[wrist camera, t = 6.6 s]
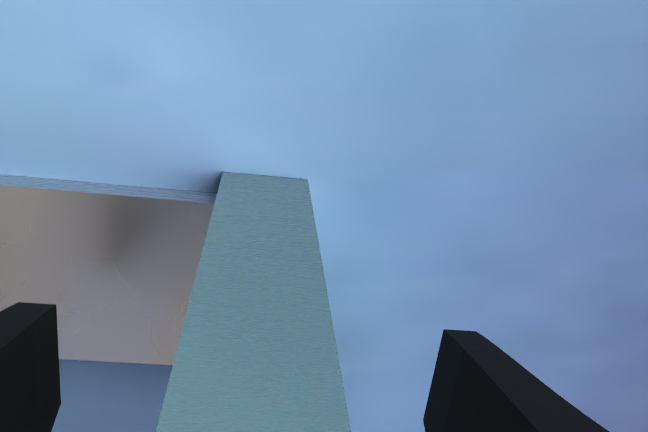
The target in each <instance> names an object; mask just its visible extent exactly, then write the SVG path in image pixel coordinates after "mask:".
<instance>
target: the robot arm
mask: <svg viewBox="0 0 648 432" xmlns="http://www.w3.org/2000/svg"><path fill="white" fill-rule="evenodd" d="M60 404H61V398H60V375H59V353H58V331H57V308H56V304H40V303H25V302H18V303H16V304H14V305H12V306H10V307H8V308H6V309H4V310H2V311H0V432H51V430H52V427H53V424H54V421H55V418H56V416H57V413H58V410H59V407H60ZM423 421H424V427H425V432H609V431H607V430H606V429H605V428H603V427H602V426H600V425H599V424H597V423H596V422H595V421H593V420H592V419H590V418H589V417H587V416H586V415H585V414H583V413H582V412H581V411H579V410H578V409H577V408H575V407H574V406H573V405H571V404H570V403H568V402H567V401H566V400H565V399H563V398H562V397H561V396H559V395H558V394H557V393H555V392H554V391H553V390H552V389H550V388H549V387H548V386H546V385H545V384H544V383H543V382H541V381H540V380H539V379H537V378H536V377H535V376H534V375H532V374H531V373H530V372H529V371H527V370H526V369H525V368H524V367H522V366H521V365H520V364H519V363H517V362H516V361H515V360H514V359H512V358H511V357H510V356H509V355H507V354H506V353H505V352H503V351H502V350H501V349H500V348H498V347H497V346H496V345H494V344H493V343H492V342H490V341H489V340H488V339H486V338H485V337H484V336H482V335H481V334H479V333H477V332H476V331H460V330H445V329H444V331H443V335H442V339H441V344H440V348H439V353H438V357H437V361H436V366H435V370H434V375H433V379H432V384H431V388H430V392H429V397H428V401H427V406H426V410H425V414H424V419H423Z"/></svg>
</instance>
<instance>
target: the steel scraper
mask: <svg viewBox="0 0 648 432" xmlns="http://www.w3.org/2000/svg"><path fill="white" fill-rule="evenodd" d="M18 302H25V303H40V304H56V308H57V331H58V353H59V359H64V360H83V361H101V362H120V363H139V364H157V365H173V366H172V370H171V374H170V378H169V382H168V386H167V390H166V393H165V397H164V401H163V405H162V409H161V413H160V417H159V421H158V424H157V428H156V432H351V430H350V424H349V418H348V412H347V406H346V400H345V395H344V389H343V383H342V377H341V371H340V365H339V360H338V354H337V348H336V342H335V336H334V330H333V325H332V319H331V313H330V307H329V301H328V295H327V290H326V284H325V278H324V272H323V266H322V260H321V255H320V249H319V243H318V237H317V231H316V225H315V220H314V214H313V208H312V202H311V196H310V190H309V185H308V180H307V179H296V178H285V177H274V176H264V175H253V174H242V173H231V172H223V173H222V177H221V180H220V184H219V188H218V192H217V194H215V193H204V192H193V191H181V190H170V189H159V188H147V187H136V186H124V185H113V184H102V183H90V182H79V181H68V180H56V179H45V178H33V177H22V176H11V175H0V311H2V310H4V309H6V308H8V307H10V306H12V305H14V304H16V303H18Z"/></svg>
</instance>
